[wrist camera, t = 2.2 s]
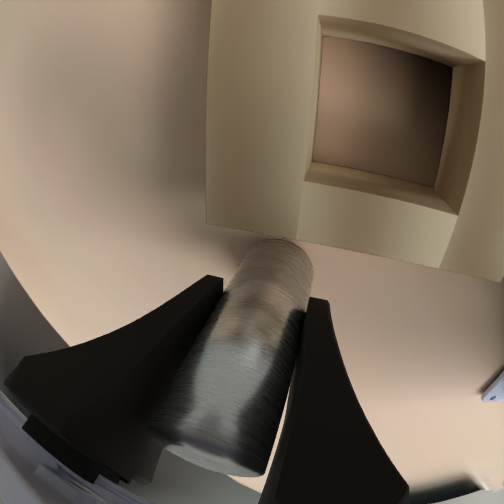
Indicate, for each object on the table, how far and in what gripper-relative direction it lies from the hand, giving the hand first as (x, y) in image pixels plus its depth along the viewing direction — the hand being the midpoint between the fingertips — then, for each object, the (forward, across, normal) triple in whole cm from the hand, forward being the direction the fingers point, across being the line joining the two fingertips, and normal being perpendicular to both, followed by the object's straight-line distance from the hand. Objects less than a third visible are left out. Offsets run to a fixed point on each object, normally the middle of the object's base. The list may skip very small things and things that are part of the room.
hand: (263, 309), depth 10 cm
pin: (+2, 0, 0) cm, 2 cm away
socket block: (+2, -3, -11) cm, 12 cm away
